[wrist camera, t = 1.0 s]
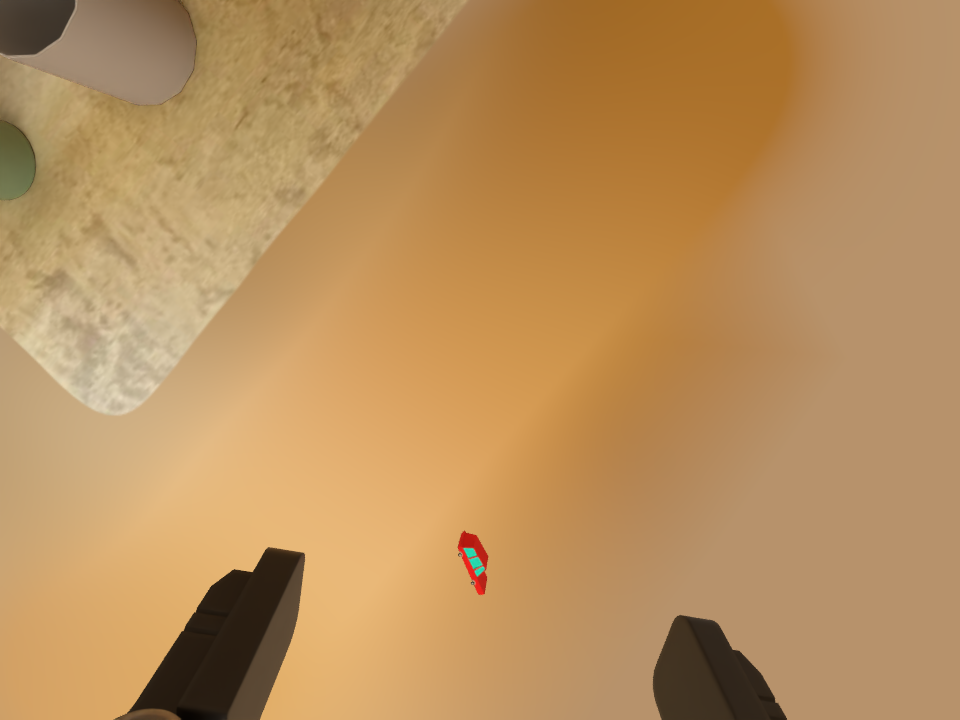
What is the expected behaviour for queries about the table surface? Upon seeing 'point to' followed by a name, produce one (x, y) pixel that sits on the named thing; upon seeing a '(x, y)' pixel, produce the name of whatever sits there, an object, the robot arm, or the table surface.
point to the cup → (104, 44)
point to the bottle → (14, 162)
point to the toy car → (474, 560)
